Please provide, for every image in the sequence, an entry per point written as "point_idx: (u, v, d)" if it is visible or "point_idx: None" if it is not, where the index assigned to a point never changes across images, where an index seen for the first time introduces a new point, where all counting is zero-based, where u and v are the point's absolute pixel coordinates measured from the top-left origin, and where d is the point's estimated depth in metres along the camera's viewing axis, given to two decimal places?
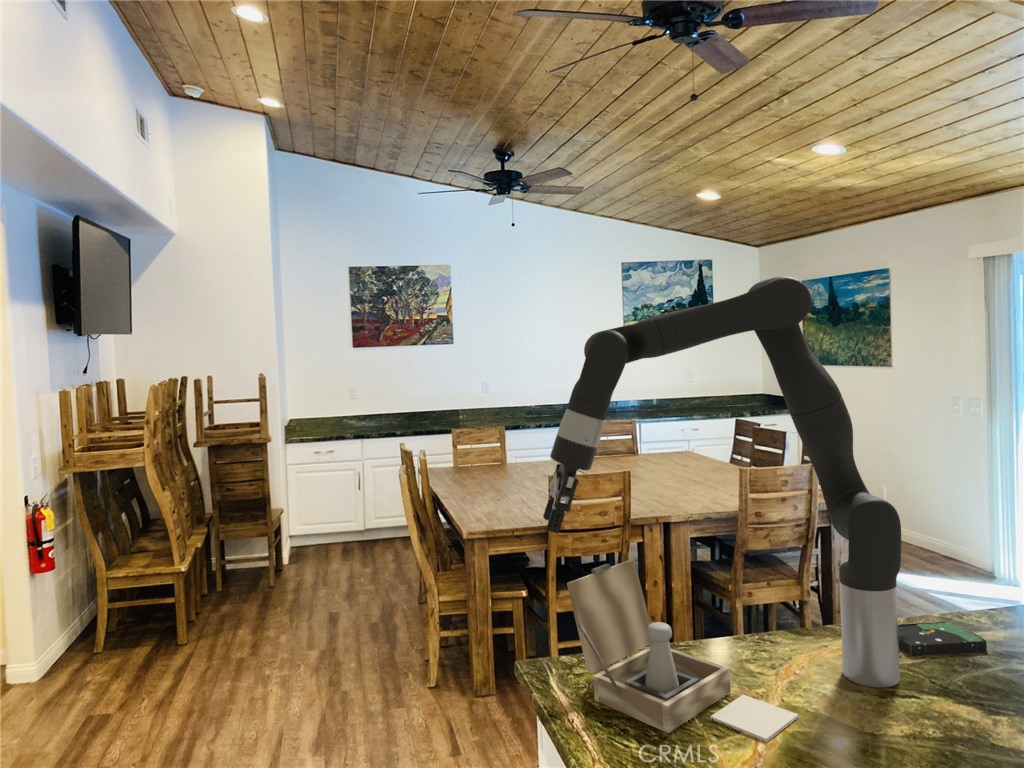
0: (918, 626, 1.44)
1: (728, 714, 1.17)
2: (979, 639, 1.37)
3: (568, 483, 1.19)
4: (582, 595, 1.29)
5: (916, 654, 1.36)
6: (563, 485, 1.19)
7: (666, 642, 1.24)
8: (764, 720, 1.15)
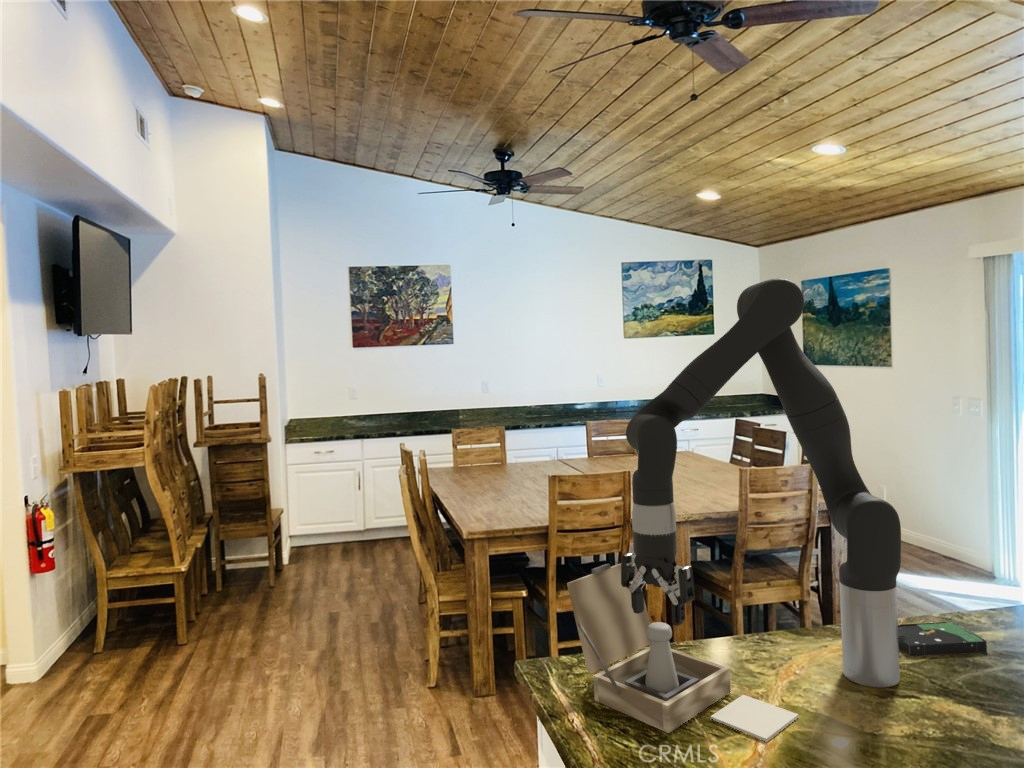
0: (918, 626, 1.44)
1: (728, 714, 1.17)
2: (979, 639, 1.37)
3: (687, 575, 1.19)
4: (582, 595, 1.29)
5: (915, 654, 1.36)
6: (685, 579, 1.19)
7: (666, 642, 1.24)
8: (764, 720, 1.15)
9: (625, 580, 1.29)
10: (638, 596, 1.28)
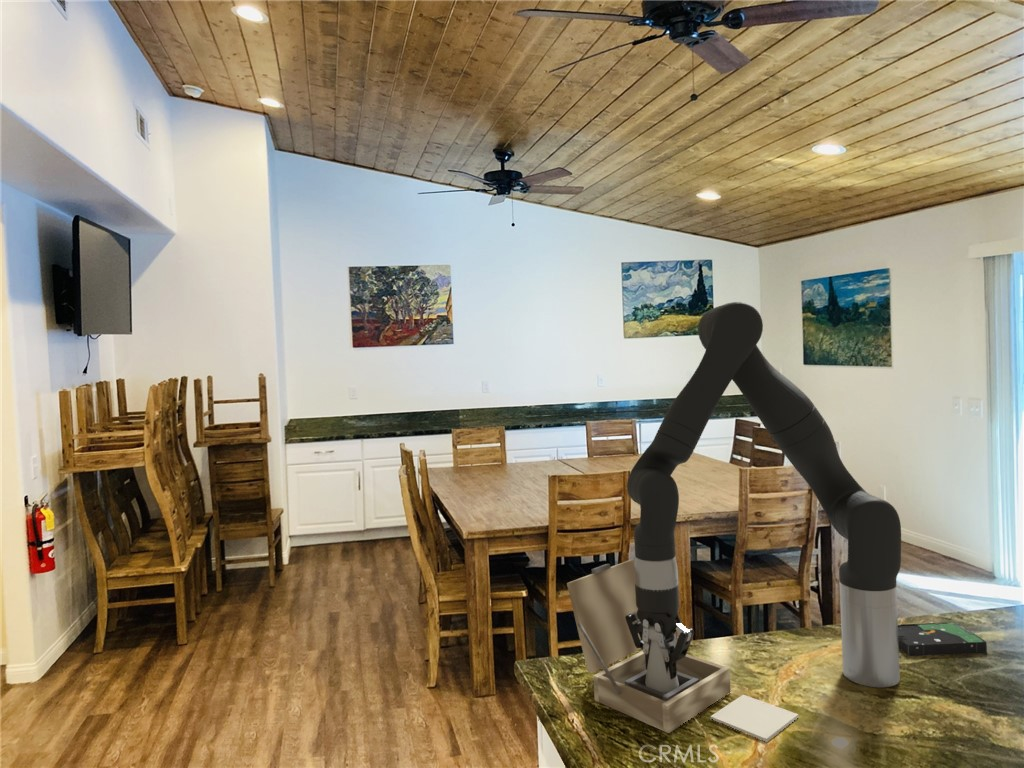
0: (919, 626, 1.44)
1: (728, 714, 1.17)
2: (979, 640, 1.36)
3: (687, 639, 1.20)
4: (582, 595, 1.29)
5: (914, 654, 1.36)
6: (684, 643, 1.20)
7: None
8: (764, 720, 1.15)
9: (639, 641, 1.27)
10: None
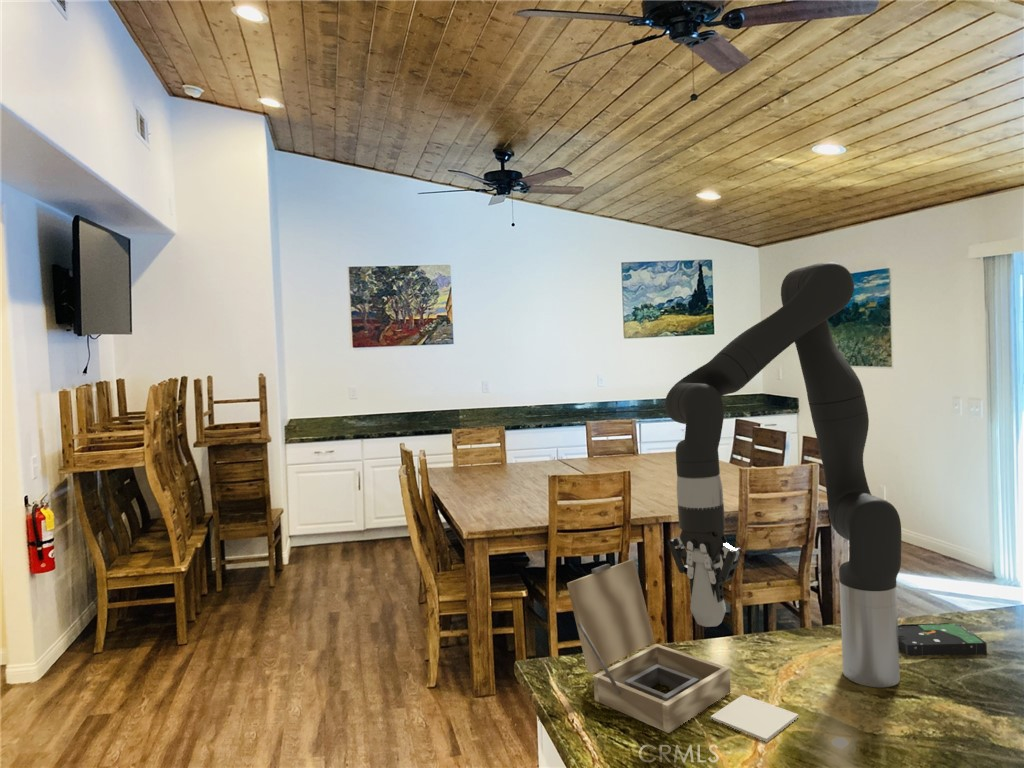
0: (920, 627, 1.44)
1: (728, 714, 1.17)
2: (979, 640, 1.36)
3: (735, 559, 1.15)
4: (582, 595, 1.29)
5: (912, 654, 1.36)
6: (732, 562, 1.15)
7: None
8: (764, 720, 1.15)
9: (683, 566, 1.22)
10: None
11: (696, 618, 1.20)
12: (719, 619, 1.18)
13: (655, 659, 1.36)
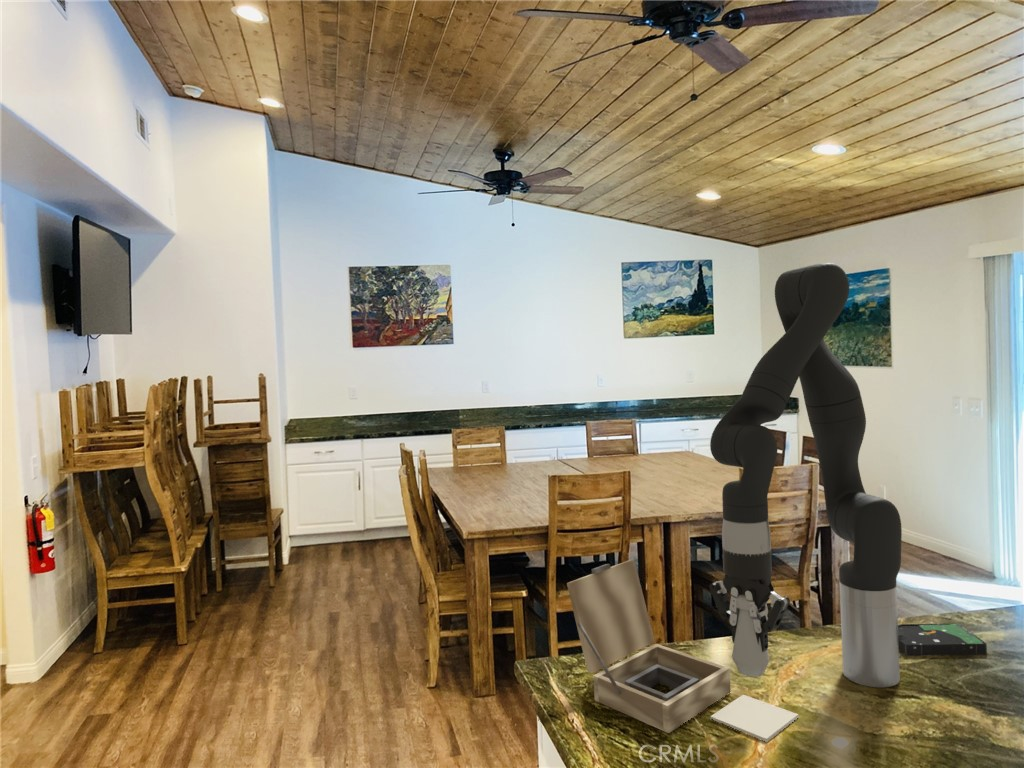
0: (920, 627, 1.44)
1: (728, 714, 1.17)
2: (980, 641, 1.36)
3: (783, 608, 1.11)
4: (582, 595, 1.29)
5: (911, 654, 1.36)
6: (779, 612, 1.11)
7: None
8: (764, 720, 1.15)
9: (725, 612, 1.18)
10: None
11: (738, 667, 1.15)
12: (763, 669, 1.14)
13: (655, 659, 1.36)
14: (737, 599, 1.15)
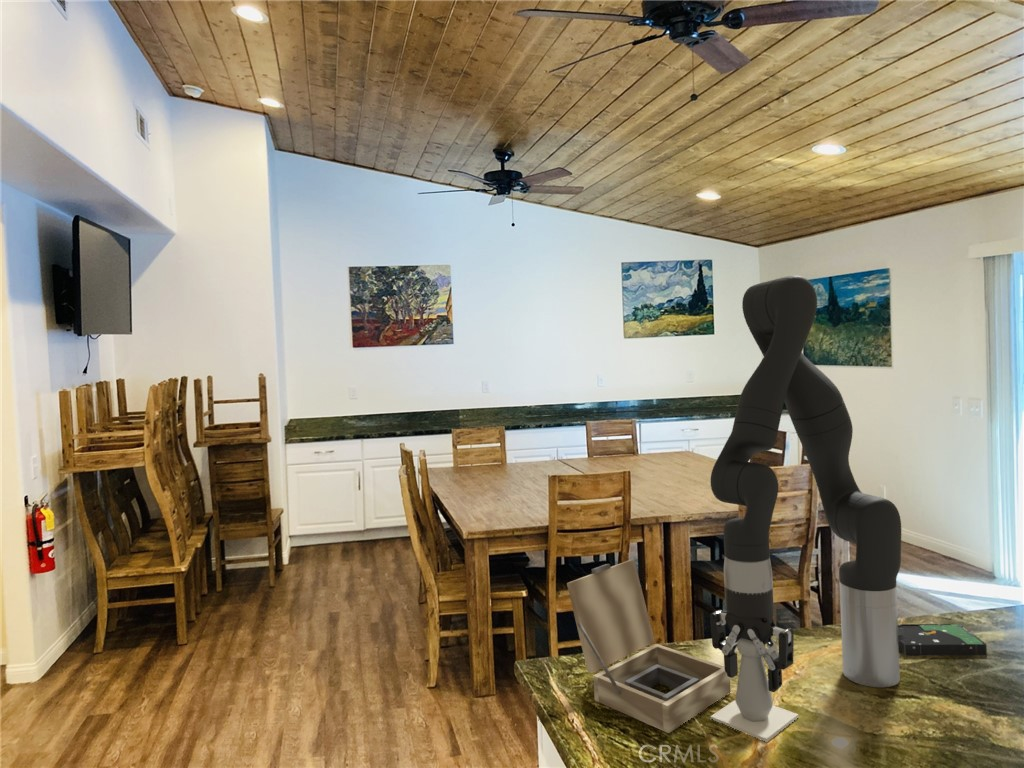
0: (921, 627, 1.44)
1: (728, 714, 1.17)
2: (980, 642, 1.35)
3: (788, 640, 1.11)
4: (582, 595, 1.29)
5: (910, 653, 1.36)
6: (786, 644, 1.10)
7: (759, 657, 1.15)
8: (764, 720, 1.15)
9: (717, 641, 1.20)
10: (732, 659, 1.19)
11: (742, 712, 1.16)
12: (766, 714, 1.14)
13: (655, 659, 1.36)
14: (740, 645, 1.15)
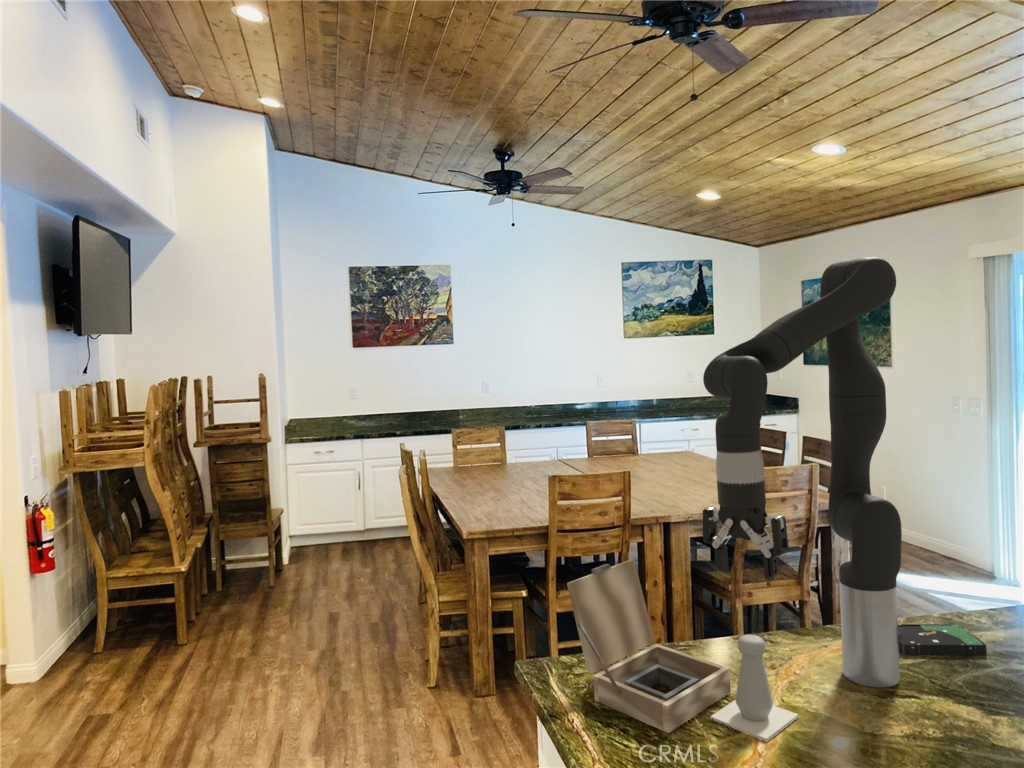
0: (921, 627, 1.44)
1: (728, 714, 1.17)
2: (979, 642, 1.35)
3: (781, 525, 1.12)
4: (582, 595, 1.29)
5: (909, 653, 1.36)
6: (779, 529, 1.11)
7: (760, 657, 1.15)
8: None
9: (708, 536, 1.21)
10: (722, 552, 1.20)
11: (742, 712, 1.16)
12: (766, 714, 1.14)
13: (655, 659, 1.36)
14: (740, 644, 1.15)
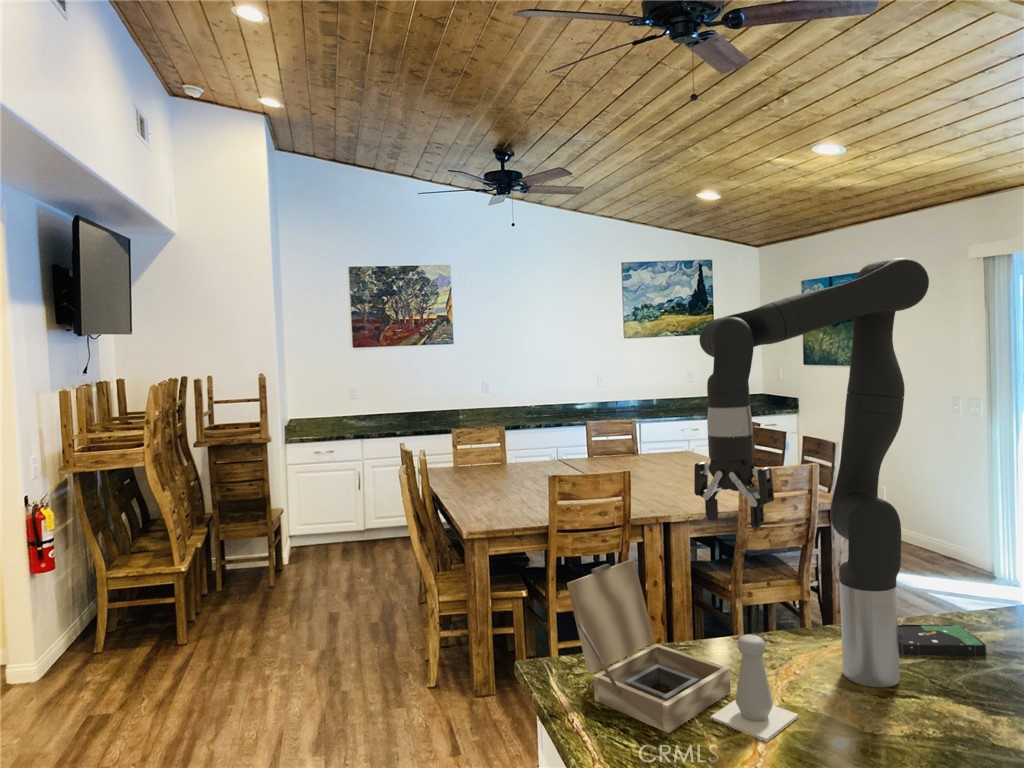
0: (921, 627, 1.44)
1: (728, 714, 1.17)
2: (979, 643, 1.35)
3: (767, 476, 1.19)
4: (582, 595, 1.29)
5: (908, 653, 1.36)
6: (765, 479, 1.19)
7: (760, 657, 1.15)
8: None
9: (699, 488, 1.28)
10: (713, 504, 1.27)
11: (742, 712, 1.16)
12: (766, 714, 1.14)
13: (655, 659, 1.36)
14: (740, 644, 1.15)
